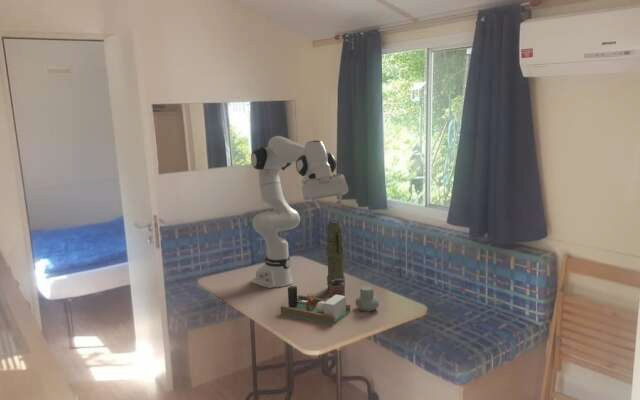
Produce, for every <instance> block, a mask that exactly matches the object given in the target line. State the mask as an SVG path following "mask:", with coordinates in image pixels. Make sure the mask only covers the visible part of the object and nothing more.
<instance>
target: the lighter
mask: <svg viewBox="0 0 640 400" xmlns="http://www.w3.org/2000/svg"><path fill="white" fill-rule="evenodd" d="M338 282H339V283H338ZM341 282H344V280H343V279H338V280H337V279H334V280H331V284H330V285H329V291H328V293H329V298H328V300H329V299H330V298H331V297H333V296H334V295H342V296H346V282H345V283H341Z"/></svg>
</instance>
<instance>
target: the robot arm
mask: <svg viewBox="0 0 640 400" xmlns="http://www.w3.org/2000/svg"><path fill="white" fill-rule="evenodd" d="M250 160H251V161H250V162H251V165H252V167H253V168H254V169H255V170H258V182H259V189H260V195H261V200H262V201H263V203H265V204H267V205H269V206H271V207H272V208H273V210H271V211H265V212H260V213H258V214H255V215H254V217H253V219H252V226H253V230H255V232H256V233H257V234H259V235H261V237H262V238H263V239H264V241H265V244H266V250H267V256H266V257H265V258H264V259H263V261H264V264H263V265H262V266H260V267H259V268H258V269H256V271H255V277H253V278H252V279H251V282H250V283H251V284H253V285H257V286H261V287H264V288H269V289H271V288H272V289H273V288H279V287H280V288H281V287H286V286H289V285H290V286H291V284H293V283H294V280H293V277H292V273H291V267H290V266H291V260H290V254H289V243H288V241H287V239H285V238H284V237H280V236H279V234H278V233H279V232H282V231H283V232H284V231H289V230H290V231H291V230H292V229H296V228H297V227H298V226H299V225H300V221H301V217H300V213H298V211H297V210H296V209H294V208H292V206H290V205H289V204H288V202H287V201H286V199H285V197H284V194H283V193H284V192H283V188H282V184H281V178H280V169H281V170H282V171H285V170H286V168H289V167H291V165H292V164H293V163H295V168H296V171H297V172H298V174H299V175H300V176H302V177H303V178H302V180H301V184H302V186H301V193H302V197H303V199H304V200H305V201H311V200H312V203H314V205H315V206H316V209H317V210H319V209H322V204H321V203H319V202H318V199H323V198H329V197H330V198H331V197H337V198H338V199H337V201H336V206H342V204H343V203H342V198H343V195H346V194H348V192H349V190H350V189H349V186H348V184H347V181H346V177H345V175H344V174H341V173H335V174H333V173H334V171H335V170H336V168H337V160H336V158H335V156H334V155H333V154H332V153H331V152H327V150H326V147H325V145H324V143H323V141H322V140H310V141H307V142H306V143H305V144H304V145H302V144H299V143H297V142H295V141H292V140H291V139H290V138H289V139H288V138H287V137H284V136H282V135H281V136H280V135H276V136H275V135H274V136H272V137H270V139H269V140H268V144H267V147H263V146H261V147H260V148H257V149H255V150H253V151H252V153H251V156H250Z"/></svg>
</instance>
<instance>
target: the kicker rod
mask: <svg viewBox="0 0 640 400" xmlns="http://www.w3.org/2000/svg"><path fill="white" fill-rule="evenodd" d="M306 296H307V299H308V301H304V300H298V286H297V285H296V286H295V285H290V286H288V287H287V297H288V298H287V300H288V302H287V303H288V307H296V306H297V305H298V303H300V304H306V311H311V310H312V309H314V308H315V298H316V297H313V296H312V295H311V294H310V293H309V294H308V295H306Z"/></svg>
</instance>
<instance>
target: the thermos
mask: <svg viewBox="0 0 640 400" xmlns="http://www.w3.org/2000/svg"><path fill="white" fill-rule="evenodd" d="M326 238H327V240H326V241H327V243H326V249H325V250H326V257H327V258H326V259H327V276H326V285H327V291H328V292H329V285H330V284H331V280H334V279H337V280H338V279H343V280H344V282H341V283H345V284H346V282H345V281H346V276H345V274H344V257H345V246H344V242H343V226H342V223H341V221H338V220H331V221H329V222H328V223H327V227H326ZM338 283H339V282H338Z"/></svg>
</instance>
